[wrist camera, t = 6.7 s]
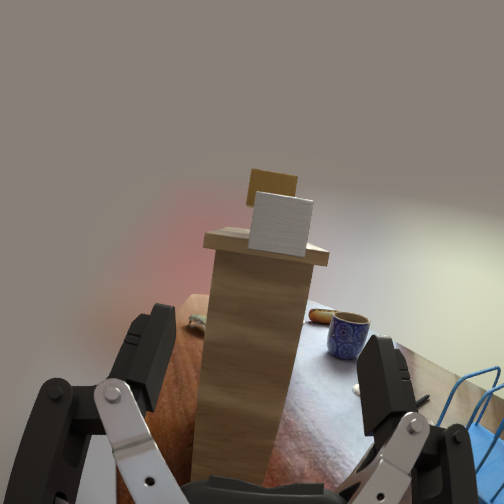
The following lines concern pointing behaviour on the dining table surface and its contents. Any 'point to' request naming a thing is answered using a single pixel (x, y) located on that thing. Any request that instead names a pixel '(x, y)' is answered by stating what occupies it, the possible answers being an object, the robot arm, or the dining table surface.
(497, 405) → the dining table surface
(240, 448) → the stand
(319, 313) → the hot dog
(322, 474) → the dining table surface
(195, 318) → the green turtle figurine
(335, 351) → the planter
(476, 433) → the file sorter
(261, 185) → the mallet
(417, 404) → the pen
